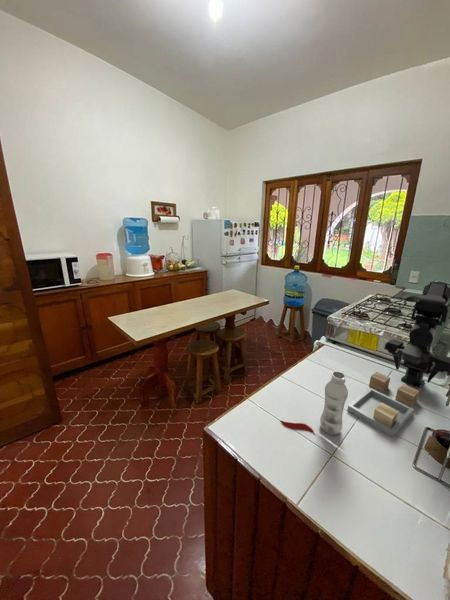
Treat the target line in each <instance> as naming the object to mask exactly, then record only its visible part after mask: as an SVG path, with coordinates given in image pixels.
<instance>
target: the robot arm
mask: <svg viewBox="0 0 450 600" xmlns="http://www.w3.org/2000/svg"><path fill="white" fill-rule="evenodd" d="M447 303H450V286H448V283H446V282H443V281H434V280H433V281H430V282H429V284H427V285H424V286H423V289H422V293H421V296H420V297H419V299H417V300H416V302H415V304H414V307H413V311H412V314H411V318H410V320H413V321H414V325H413V326H412V328H411V330H410V332H409V335H408V338H409V341H408V342H407V344H406V346H405V345H404V341H400V340H397V339H395V338H391V339H390V340H388V341H387V342H385V344H384V347H383V348H384V350H386V351H387V352H388V353H389V354H390V355H391V356H392V358H393V360H394V365H395V368H396V369H395V370H397V371H398V370H400V367H401V363H402V362H401V361H402V360H403V364H402V367H404V368H406V370H405V374H404V375H403V376H402V377H401V378H400V380H401V381H403V382H405V383H407V384H409V385H412V386H414V387H416V388H418V389H419V388H421V387H422V386H423V384H424V383H425V382H427V383H430V382H431V381H432V380H433V378H434V377H435V376H436V375H437V374H438V373H442V374H443V373H450V356H446V355H443V354H440V355H439V356H438V357H437V356H435V355H432V352H431V350H432V346H433V342H434V339H435V336H436V332H437V328H438V326H441V327H442V324H443V323H446V320H447V317H448V313H449V308H448V307H449V306H448V304H447ZM425 374H426V375H429V376H428V377H427V381H425V380H424V376H425Z"/></svg>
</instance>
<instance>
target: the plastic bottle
mask: <svg viewBox="0 0 450 600" xmlns="http://www.w3.org/2000/svg"><path fill="white" fill-rule="evenodd" d="M330 379H331V380H329V381H328V382H327V383H326V384H325V386H324V405H323V410H322V413H321V416H320V419H319V420H320V421H319V425H320V427H321V429H322V431H324V433H326V434H328V435H331V436H336V435H339V434H340V433H341V431H343V430H342V429H343V412H344V409H345V408H344V407H345V404H346V402H347V398H348V395H349V390H348V388H347V386H346V384H345V383H346V375H345V374H344V373H343V372H341V371H332V373H331V377H330Z"/></svg>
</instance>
